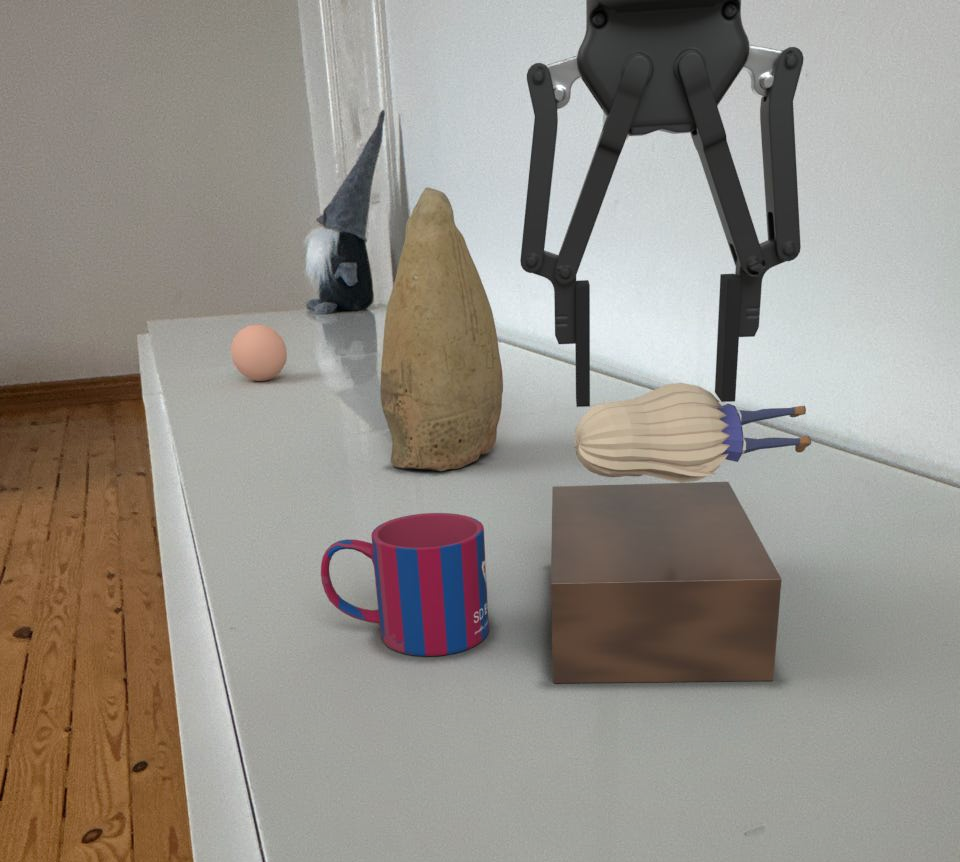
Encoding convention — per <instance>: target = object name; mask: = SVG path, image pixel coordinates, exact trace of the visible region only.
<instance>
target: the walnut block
mask: <svg viewBox="0 0 960 862" xmlns="http://www.w3.org/2000/svg"><path fill="white" fill-rule="evenodd" d="M551 492H552V497H551V498H552V499H551V501H552V502H551V549H550V550H551V551H550V552H551V555H550V605H551V606H550V607H551V608H550V609H551V610H550V611H551V653H552V654H551V655H552V656H551V657H552V683H553V684H592V683H593V684H597V683H598V684H599V683H600V684H601V683H603V684H604V683H674V682H675V683H682V682H683V683H685V682H689V683H690V682H695V683H696V682H769V681H774V675H775V665H776V664H775V663H776V652H777V640H778V639H777V638H778V627H779V618H780V617H779V616H780V605H781V603H780V602H781V591H782V577H781V575H780V573H779V571H778V570H777V568H776V566H775V564H774V562H773V561H772V558H771V557H770V555H769V553H768V551H767V550H766V547H765V546H764V544H763V542H762V540H761V538H760V536H759V535H758V533H757V531H756V530H755V527H754V526H753V524H752V522H751V520H750V518H749V517H748V515H747V513H746V511H745V509H744V508H743V506H742V504H741V502H740V500H739V498H738V497H737V494H736V493H735V491H734V489H733V487H732V485H731V484H730V482H729V481H706V482H705V481H701V482H699V481H695V482H682V483H681V482H667V483H665V482H664V483H631V484H629V483H628V484H596V485H595V484H594V485H593V484H592V485H559V486H552V491H551Z"/></svg>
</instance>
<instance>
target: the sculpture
mask: <svg viewBox="0 0 960 862" xmlns="http://www.w3.org/2000/svg"><path fill="white" fill-rule="evenodd" d="M404 231H405V233H404V234H405V236H404V237H405V238H404V243H403V246H402V250H401V253H400V258H399V262H398V264H397V265H398V266H397V269H396V274H395V278H394V282H393V286H392V289H391V293H390V296H389V298H388V301H387V306H386V311H385V319H384V327H383V339H382V355H381V365H380V383H379V384H380V387H379V388H380V392H379V393H380V403H381V408H382V413H383V414H384V418H385V421H386V423H387V427H388V430H389V433H390V436H391V441H392V445H391V446H392V447H391V454H390V463H391V466H392V467H396V468H400V469H416V470H428V471H436V472H443V471H449V470H456V469H457V470H458V469H461V468H463V467H466V466H467V465H470V464H472V463H474V462H476V461H478V460H479V458H480V456H481V455H485V454H489V453H490V451H491V450H492V449H493V447H494V446H495V444H496V442H497V436H498V435H497V432H498V425H499V421H500V420H501V419H500V418H501V413H502V406H503V392H504V376H503V367H502V361H501V355H500V348H499V347H500V346H499V340H498V335H497V328H496V324H495V319H494V313H493V309H492V307H491V304H490V300H489V297H488V295H487V291H486V288H485V287H484V284H483V281H482V279H481V276H480V273H479V271H478V269H477V266H476V264H475V262H474V260H473V258H472V255H471V253H470V250H469V247H468V245H467V243H466V240H465V237H464V235H463V233H462V232H461V231H460V229H459V228H458V227H457V225H456V222H455V216H454V210H453V207H452V204H451V201H450V199H449V198H448V196H447V195H446V194H445V193H444V192H443V191H442V190H438V189H435V188H431V187H424V189H423V191H422V193H421V194H420V196H419V198H418V200H417V202H416V204H415V205H414V207H413V209H412V212H411V214H410V216H409V217H408V219H407V221H406V224H405V230H404Z"/></svg>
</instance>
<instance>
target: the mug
mask: <svg viewBox="0 0 960 862" xmlns="http://www.w3.org/2000/svg"><path fill="white" fill-rule="evenodd" d="M485 542H486V541H485V528H484V525H483V523H482V522H481V521H479V520H477V519H476V518H474V517H472V516H468V515H465V514H464V515H463V514H459V513H449V512H427V513H426V512H425V513H416V514H415V513H414V514H410V515H403V516H400V517H395V518H393V519H390V520H387V521H385V522H382V523H381V524H379V525H378V526H376V527H375V528H374V529H373V530H372V532H371V542H368V541H364V540H359V539H342V540H341V539H340V540H338V541H335V542H333V543H332V544H330V545H329V547H328V548H327V549H326V550H325V551H324V554H323V556H322V558H321V563H320V579H321V585H322V589H323V591H324V594H325V595H326V597H327V599H328V601H329V602H330V603H331V604H332V605H333V606H334V607H335V608H336V609H337V610H338V611H340V612H341V613H342V614H345V615H347V616H349V617H351V618H353V619H356V620H359V621H363V622H366V623H372V624H378V625H379V629H380V635H381V639H382V642H383V643H384V644H385V645H386V646H387V647H388V648H390V649H391V650H393V651H396V652H398V653H401V654H404V655H409V656H416V657H438V656H439V657H440V656H447V655H452V654H456V653H462V652H464V651H467V650H469V649H472V648H473V647H476V646H477V645H479V644H480V643H482V642H483V641H484V640H485V639H486V638H487V636H488V634H489V631H490V623H489V608H488V607H489V605H488V602H489V601H488V582H487V565H486V545H485ZM341 550H342V551H343V550H353V551H355V552H359V553H361V554H362V555H364V556H365V557H367V558H369V559H370V560H371V562H372V564H373V571H374V572H373V573H374V581H375V591H376V600H377V609H367V608H362V607H358V606H355V605H354V604H352V603H349V602H348V601H346V600H345V599H343V598H342V597H341V595H339V593H338V592H337V591H336V589H335V587H334V585H333V582H332V579H331V575H330V566H331V565H330V564H331V560H332V558H333V556H334V555H335V554H336V553H337V552H339V551H341Z"/></svg>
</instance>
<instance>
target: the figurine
mask: <svg viewBox="0 0 960 862" xmlns="http://www.w3.org/2000/svg"><path fill="white" fill-rule="evenodd" d="M806 414H807V408H806V405H797V406H792V407H775V408H774V407H771V408H762V409H757V410H744V409H743V410H742V409H737V407H736V406H735V405H733V404H731V403H726V404H724V405H722V404H721V402H720V400H719V399H717V397H716V396H715V395H714V394H713V392H711V391H709V390H707V389H705V388H703V387H701V386H700V385H696V384H690V383H683V382H677V383H669V384H664V385H662V386H660V387H658V388H656V389H653V390H652V391H649V392H647V393H644V394H642V395H639V396H637V397H635V398H632V399H626V400H625V399H624V400H618V401H612V402H610V401H609V402H604V403H597V404H595V405H594V406H591V408H589V409H588V410H586V412H585V413H584V414H583V415H582V417H581V418H580V419H579V422H578V423H577V425H576V428H575V431H574V433H575V434H574V436H573V438H574V440H573V441H574V442H575V443H576V444H575V445H574V449H575V454H576V456H577V459H578V461H579V462H580V463H581V465H583V467H584V468H585V469H586V470H588V471H589V472H591V473H593V474H595V475H598V476H601V477H605V478H621V477H642V476H644V475H645V476H649V477H653V478H657V479H662V480H666V481H670V482H671V481H672V482H675V483H692V482H698V481H700V480H702V479H705V478H708V477H711V476H714V475H715V474H717V472H716V471H717V470H718V469H719V468H720V467H721V466H722V464H723V463H724V462H725V460H726V461H731V462H736V463H738V462H739V461H740V460H741V457H742V455H744V454H745V455H746V454H748V453H753V452H755V451H759V450H766V449H777V448H783V447H792V446H794V451H795V452H796V453H803V452H804V451H805V450H806V448H808V447H810V446H811V445H812V438H811V436H809V435H804V436H800V437H763V438H752V437H744V431H743V426H745V425H748V424H751V423H754V422H759V421H765V420H770V419H771V420H772V419H777V418H783V417H787V416H789V418H797V417H799V416H803V415H806Z"/></svg>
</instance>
